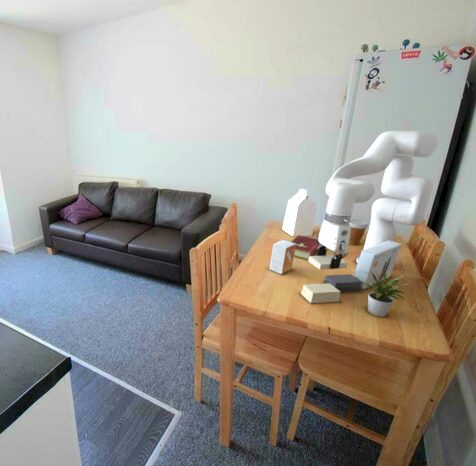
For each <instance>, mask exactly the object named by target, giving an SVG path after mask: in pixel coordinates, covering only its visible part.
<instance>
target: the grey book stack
mask: <svg viewBox="0 0 476 466" xmlns="http://www.w3.org/2000/svg"><path fill="white" fill-rule="evenodd" d="M326 283H330V284H331V285H333V286H334V287H335V288H336V289H338V290H339V291H340V293H352V292H353V293H354V292H355V293H356V292H361V290H362V288H361V283H362V281H360V280H359V279H357V278H356V277H354V274H353V275H352V274H351V273H350V274H349V273H348V274H346V273H345V274H328V275H327V274H326V275H325V277H324V280H323V283H322V284H326Z"/></svg>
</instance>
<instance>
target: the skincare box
mask: <svg viewBox="0 0 476 466" xmlns="http://www.w3.org/2000/svg"><path fill="white" fill-rule="evenodd" d="M402 246H403V244H402V243H399V242H397V241H390V240H388V241H385V242H383V243H380V244H378V245H375V246H372V247H370V248H367V249H364V248H363V249H364V250H363V249H362V250H361V252H360V255H359V257H360V258H359V261H358V263H357V264H356V268H355V271H354V273H353V276H354V277H356V278H357V279H359V280H360V281H362V283H361V290H366V289H368V288H367V287H364V285H363V284H369V285H370V286H372V287H373V286H374V284H373V283H372V282H373V281H374V283H375V284H376V282H375V280H374V278H373V276H372V274H371V273H372V272H373V273H374V275H375V276H376V278H377V280H379V278H380V281H381V282H383V281H384V275H385V272H386V274H387V275H388V273H390V272H391V273H390V274H389V276H388V278H390V277H391V275H392V272H393V270H394V267H395V264H396V262H397V261H396V259H397V260H398V256H399V254H400V251H401V247H402ZM359 270H360V271H359ZM362 271H364V272H362ZM371 271H372V272H371ZM374 271H375V272H374ZM365 272H366V273H365ZM370 272H371V273H370ZM368 274H369V275H370V276H369V275H368ZM377 274H378V275H379V278H378V275H377ZM370 281H371V282H370Z"/></svg>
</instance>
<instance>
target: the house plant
mask: <svg viewBox="0 0 476 466" xmlns="http://www.w3.org/2000/svg"><path fill="white" fill-rule="evenodd" d="M359 271H360V270H359ZM362 272H364V271H362ZM371 272H372V271H371ZM371 272H370V273H371ZM374 272H375V271H374ZM365 273H366V272H365ZM390 273H391V272H390ZM390 273H388V275H387V274H386V272H385V275H384V280H382V281H380V278H379V275H378V274H377V275H378V278H379V280H377V278H376V276H375V275H374V273H373V272H372V273H371V274H372V276H373V278H374V280H375V282H376V284H375V283H374V281H373V282H372V283H373V284H374V285H372V286H370V285H369V284H363V285H364V287H367V288H366V289H371V290H372V291H371V292H369V293H368V299H367V312H368V313H369V314H372V315H373V316H375V317H385V316H387V313H388V312H389V311H390V309H391V307H392V306H393V304H394V302H395V300H396V301H399V299H402V301H405V298H404V296H403V295H402V294H404V295H406V296H407V294H406V293H405V292H404V291H402V290H400V289H403V288H402V286H410V284H409V283H403V284H399V285H396V284H397V283H399V282H400V281H401V280H402V279H403V278H404V277H405V275H399V276H397V277H396V278H394V279H391V280H390V281H388V279H389V277H388V276H389V274H390ZM391 274H392V273H391ZM368 275H369V274H368ZM369 276H370V275H369ZM387 281H388V282H387ZM370 282H371V281H370ZM395 285H396V286H395ZM373 286H374V287H373Z"/></svg>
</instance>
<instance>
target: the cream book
mask: <svg viewBox="0 0 476 466" xmlns="http://www.w3.org/2000/svg"><path fill="white" fill-rule="evenodd" d="M332 258H333V254H326V255H325V256H317V255H313V256H309V260H307V262H309V264H311V265H312V266H314V267H315V268H317V270H320V271H321V270H322V271H323V270H324V271H325V270H332V269H331V268H330V263H331V259H332ZM347 267H348V262H347V261H345V260H344V259H341V262H340V266H339V268H334V269H333V270H342V269H343V270H344V269H347Z"/></svg>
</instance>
